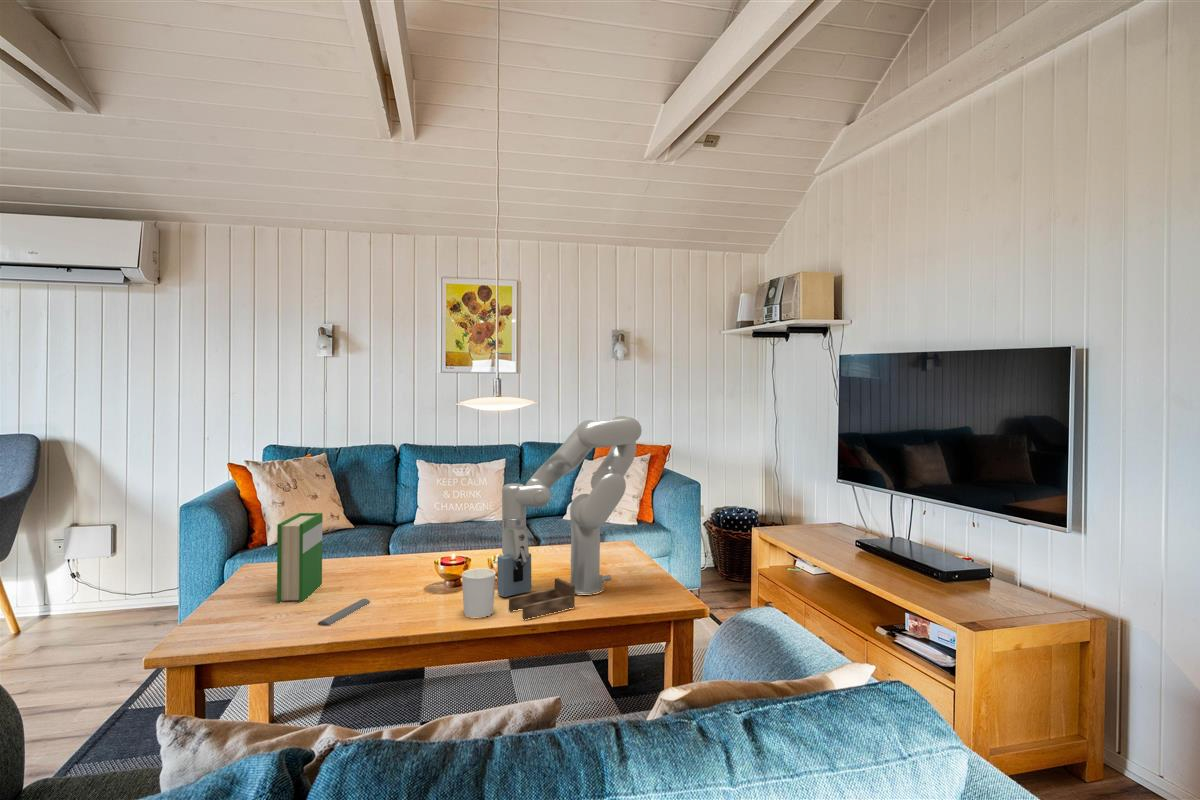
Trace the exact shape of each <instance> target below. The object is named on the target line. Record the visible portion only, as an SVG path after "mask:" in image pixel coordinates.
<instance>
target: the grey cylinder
mask: <svg viewBox="0 0 1200 800" xmlns="http://www.w3.org/2000/svg"><path fill="white" fill-rule="evenodd" d="M496 574H497V573H496V570H494V569H492V568H487V567H486V568H483V567H480V568H478V567H476V568H471V569H467V570H464V571H463V572H462V573H461V577H462V578H461V580H462V601H463V603H462V604H463V615H464V616H465V615H466V616H468V617H484V616H488V615H490V614H492V615H493V613H494V603H495V588H496V587H495V586H496V576H497V575H496ZM466 616H465V617H466ZM490 616H491V615H490ZM468 617H467V618H468ZM488 617H489V616H488Z"/></svg>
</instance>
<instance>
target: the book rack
mask: <svg viewBox="0 0 1200 800" xmlns="http://www.w3.org/2000/svg"><path fill="white" fill-rule="evenodd" d="M570 583H571V582H568V581H565V580H563V579H561V578H559V577H557V578H556V577H555V578H554V587H553V588H549V589H543V590H540V591H533V592H530V593H526V594H521V595H520V594H519V595H516V596H515V595H514V596H512V597H511V596H509V597H508V611H509V610H510V611H513V610H518V609H523V610H522V616H521V617H522V618H523V619H524V620H525V619H528V618H532V617H537V616H541V615H546V614H549V613H554V612H558V611H562V610H565V609H569V608H573V607H574V608H575V597H576V595H575V586H574V585H572V584H570ZM524 620H523V621H524Z"/></svg>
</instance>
